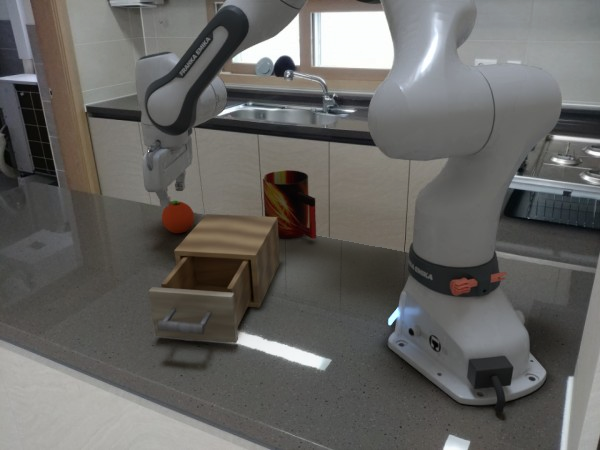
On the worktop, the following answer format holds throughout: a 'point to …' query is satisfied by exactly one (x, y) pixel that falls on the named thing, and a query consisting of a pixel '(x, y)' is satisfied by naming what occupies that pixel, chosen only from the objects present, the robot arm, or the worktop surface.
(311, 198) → the mug
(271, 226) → the cabinet
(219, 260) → the drawer
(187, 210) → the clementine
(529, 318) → the worktop surface
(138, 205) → the worktop surface
